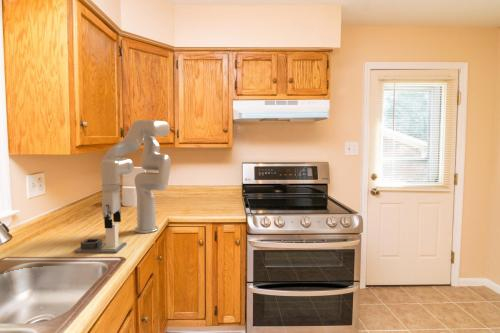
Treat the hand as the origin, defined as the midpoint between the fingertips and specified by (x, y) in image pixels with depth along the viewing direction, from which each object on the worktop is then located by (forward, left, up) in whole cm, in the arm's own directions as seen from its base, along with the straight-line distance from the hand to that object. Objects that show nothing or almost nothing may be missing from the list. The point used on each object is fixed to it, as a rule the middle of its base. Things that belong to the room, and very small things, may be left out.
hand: (113, 224), depth 149 cm
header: (+1, -5, -11) cm, 12 cm away
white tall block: (-104, -25, -11) cm, 108 cm away
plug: (+1, 0, -9) cm, 9 cm away
